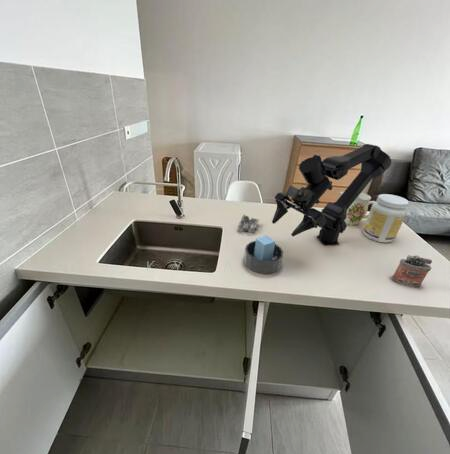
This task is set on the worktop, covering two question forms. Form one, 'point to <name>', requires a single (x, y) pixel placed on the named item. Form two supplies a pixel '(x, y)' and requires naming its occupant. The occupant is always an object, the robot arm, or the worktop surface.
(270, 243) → the ice block
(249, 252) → the pot
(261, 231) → the worktop surface
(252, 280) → the worktop surface
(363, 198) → the pitcher
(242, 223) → the egg carton
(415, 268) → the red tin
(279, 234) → the worktop surface
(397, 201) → the supplement tub
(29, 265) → the worktop surface
